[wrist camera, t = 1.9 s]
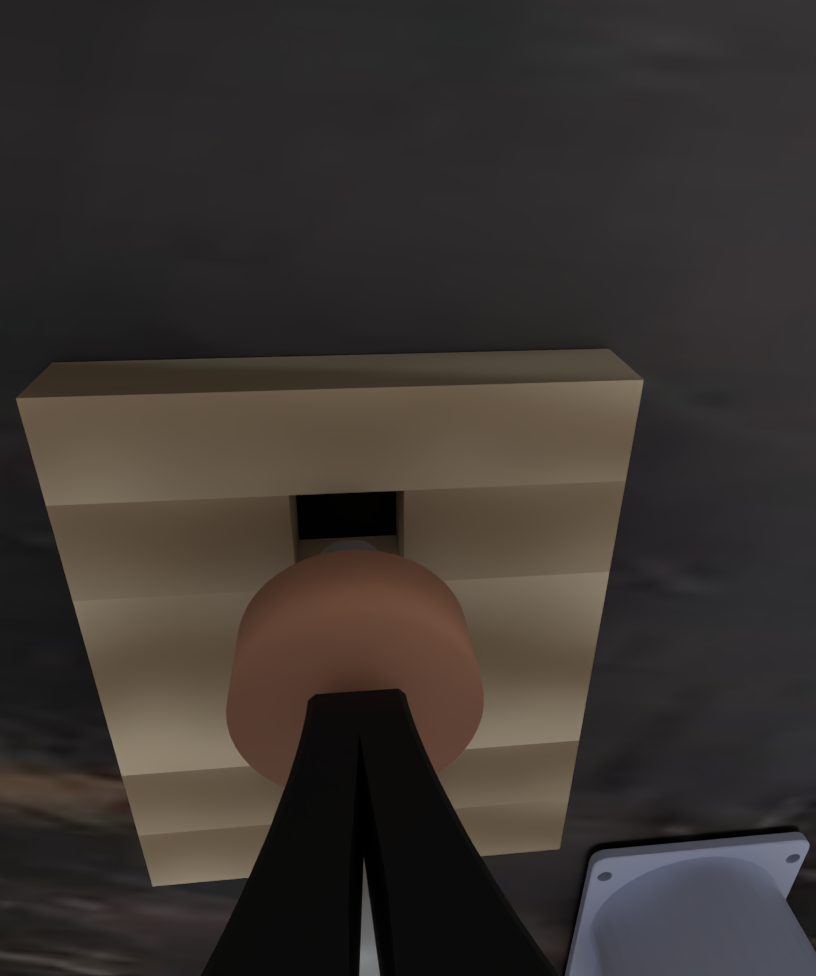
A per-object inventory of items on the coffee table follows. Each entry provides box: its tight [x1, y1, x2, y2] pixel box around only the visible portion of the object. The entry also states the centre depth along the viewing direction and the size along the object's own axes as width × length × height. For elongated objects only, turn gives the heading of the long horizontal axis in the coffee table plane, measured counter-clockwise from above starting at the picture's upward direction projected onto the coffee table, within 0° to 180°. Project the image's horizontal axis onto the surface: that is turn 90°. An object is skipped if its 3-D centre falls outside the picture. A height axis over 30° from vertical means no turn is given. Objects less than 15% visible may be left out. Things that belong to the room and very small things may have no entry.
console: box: [16, 349, 644, 886], centre depth 18 cm, size 15×12×2 cm
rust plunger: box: [226, 539, 484, 788], centre depth 13 cm, size 4×4×4 cm
